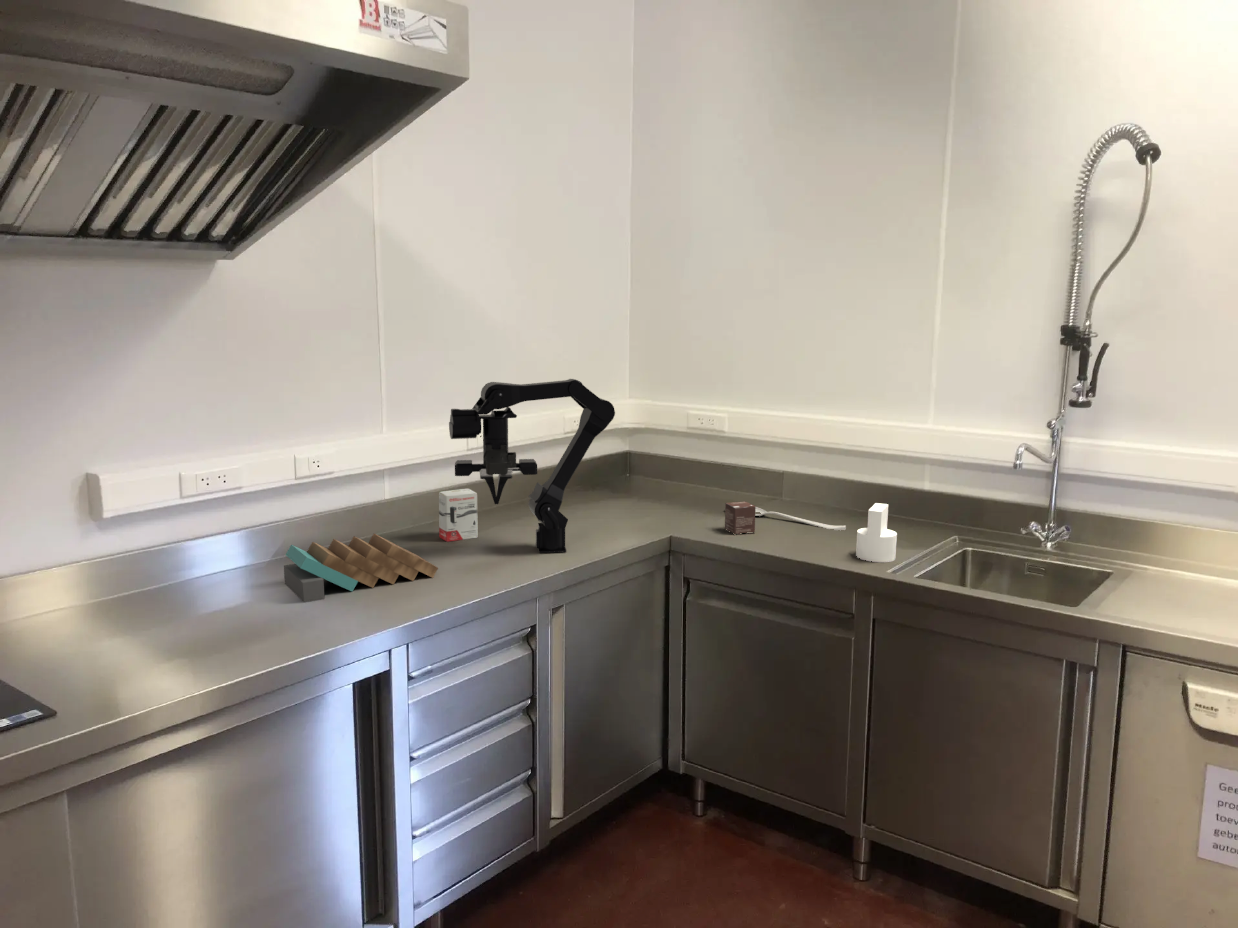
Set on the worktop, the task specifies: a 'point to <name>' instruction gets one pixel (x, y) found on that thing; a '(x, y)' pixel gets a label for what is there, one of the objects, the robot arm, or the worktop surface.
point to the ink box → (458, 515)
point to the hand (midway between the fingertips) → (496, 503)
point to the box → (740, 517)
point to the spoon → (800, 520)
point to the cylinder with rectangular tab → (876, 537)
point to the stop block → (303, 583)
